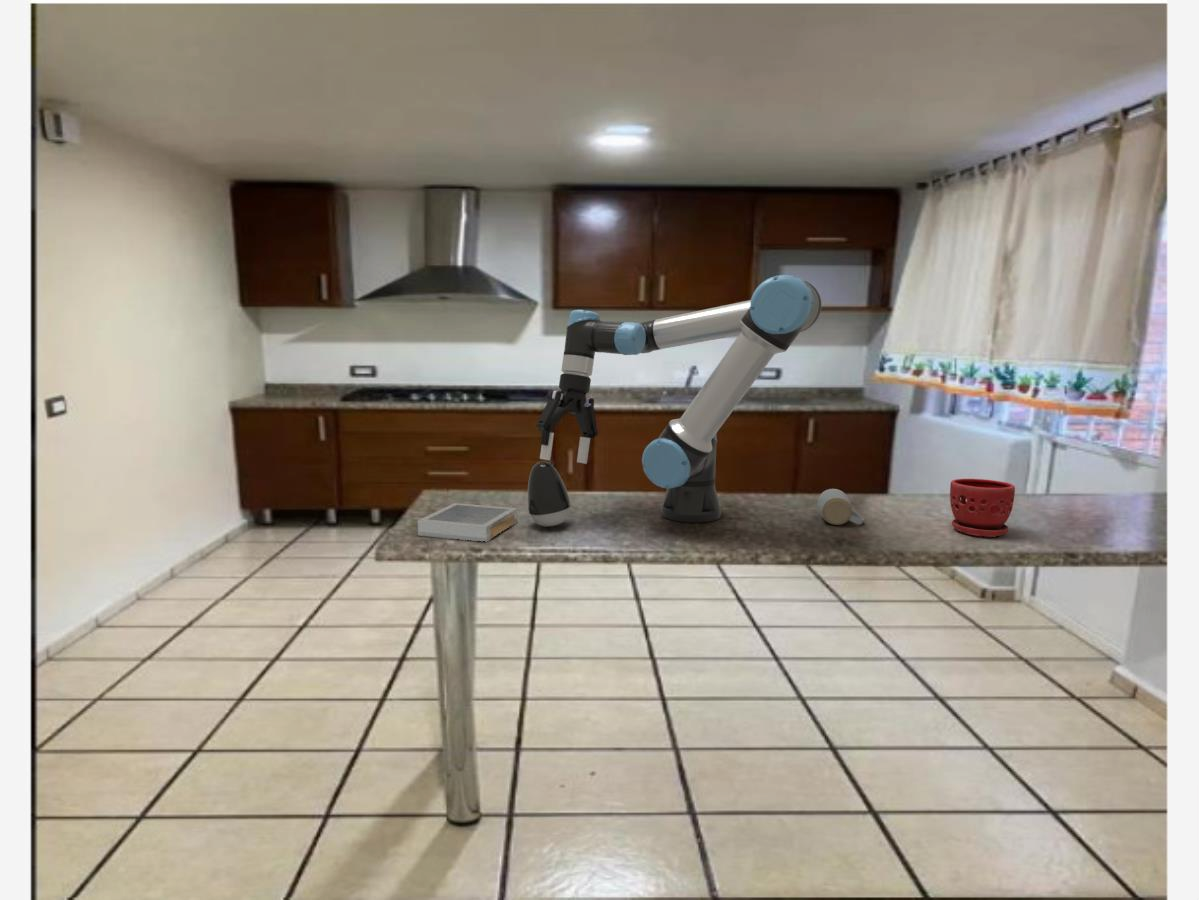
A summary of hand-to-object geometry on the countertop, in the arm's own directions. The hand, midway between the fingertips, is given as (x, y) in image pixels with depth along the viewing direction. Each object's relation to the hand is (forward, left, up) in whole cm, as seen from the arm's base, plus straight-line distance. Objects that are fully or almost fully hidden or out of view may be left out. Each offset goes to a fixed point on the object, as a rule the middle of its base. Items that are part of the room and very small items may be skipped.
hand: (563, 461), depth 162 cm
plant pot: (-96, -20, -15) cm, 99 cm away
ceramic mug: (-65, -19, -15) cm, 70 cm away
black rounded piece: (+1, +6, -14) cm, 15 cm away
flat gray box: (+19, +14, -15) cm, 28 cm away
